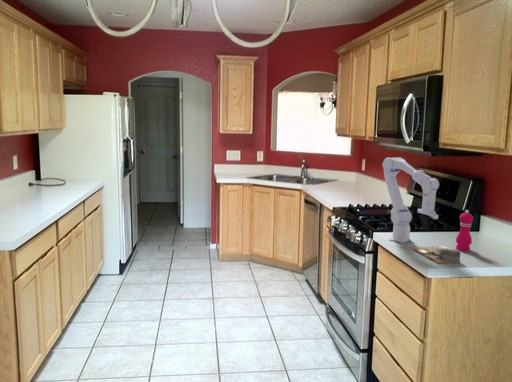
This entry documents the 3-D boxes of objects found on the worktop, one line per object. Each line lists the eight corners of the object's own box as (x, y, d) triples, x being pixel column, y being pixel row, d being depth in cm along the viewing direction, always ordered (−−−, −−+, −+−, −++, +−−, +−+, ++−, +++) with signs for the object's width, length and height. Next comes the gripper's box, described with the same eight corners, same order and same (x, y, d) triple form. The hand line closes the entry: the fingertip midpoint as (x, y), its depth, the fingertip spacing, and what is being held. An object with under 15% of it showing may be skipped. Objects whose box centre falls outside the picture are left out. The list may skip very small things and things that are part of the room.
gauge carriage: (424, 252, 210) (424, 246, 209) (442, 251, 212) (443, 245, 211) (428, 255, 206) (429, 249, 205) (447, 254, 208) (448, 248, 207)
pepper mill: (465, 252, 217) (470, 212, 213) (451, 248, 223) (456, 209, 219) (473, 250, 221) (478, 210, 218) (459, 246, 227) (464, 207, 223)
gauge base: (411, 249, 219) (412, 239, 218) (432, 248, 221) (433, 239, 220) (437, 263, 198) (438, 252, 198) (460, 262, 201) (461, 251, 200)
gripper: (445, 205, 211) (442, 233, 213) (427, 200, 225) (424, 226, 227) (431, 206, 210) (428, 234, 212) (414, 200, 224) (412, 226, 226)
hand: (425, 230), depth 220 cm, fingers closed
